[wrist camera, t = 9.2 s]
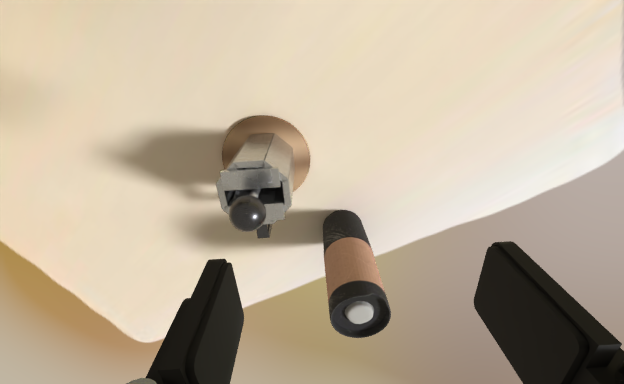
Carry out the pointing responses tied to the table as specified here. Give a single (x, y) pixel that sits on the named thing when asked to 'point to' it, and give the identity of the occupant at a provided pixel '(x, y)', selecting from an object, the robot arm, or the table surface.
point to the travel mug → (352, 278)
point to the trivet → (270, 126)
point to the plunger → (248, 211)
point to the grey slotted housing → (260, 177)
